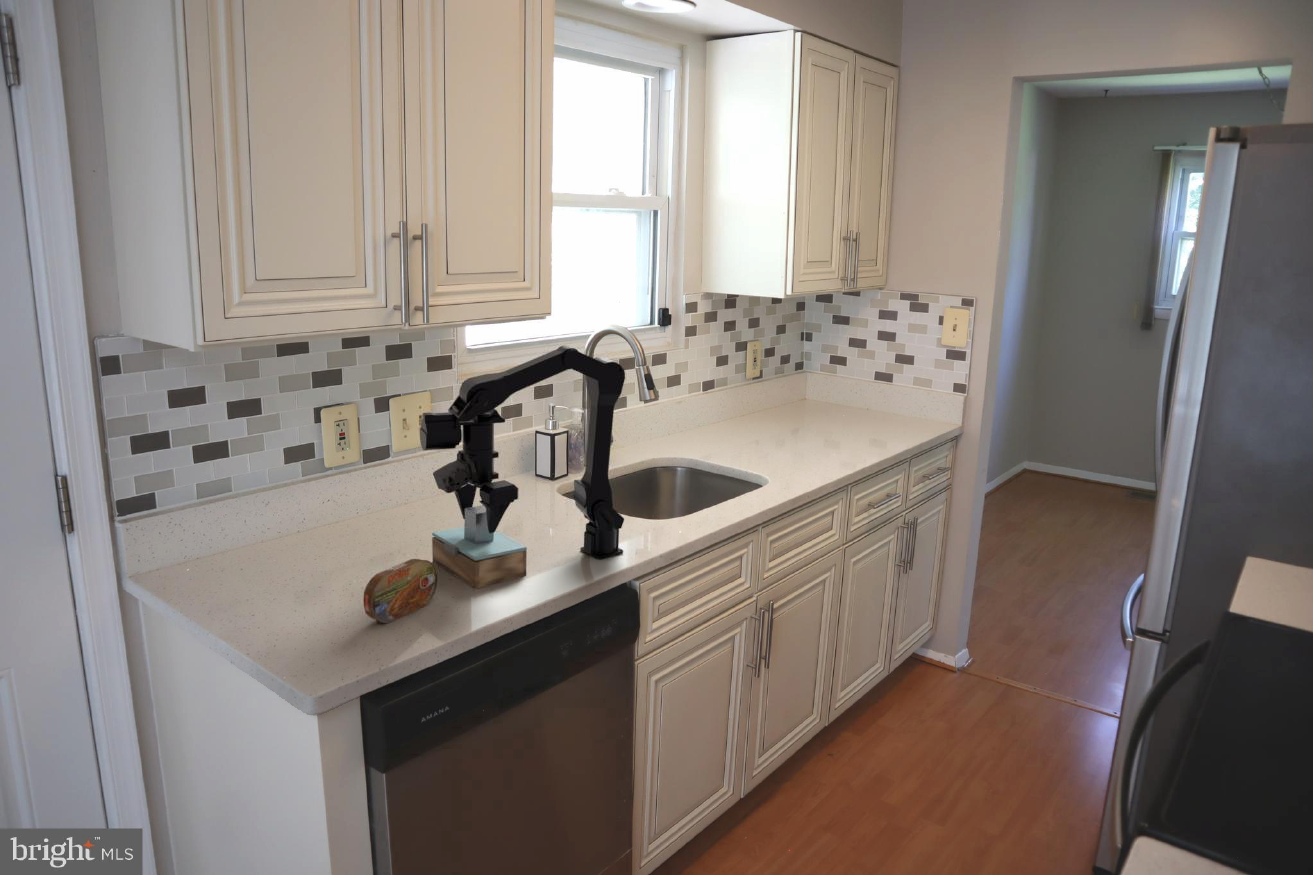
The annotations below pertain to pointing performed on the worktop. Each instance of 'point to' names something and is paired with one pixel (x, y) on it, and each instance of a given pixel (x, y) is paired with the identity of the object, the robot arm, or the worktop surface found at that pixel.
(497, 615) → the worktop surface
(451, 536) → the lid
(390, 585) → the tin
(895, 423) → the worktop surface
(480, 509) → the block
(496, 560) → the box
